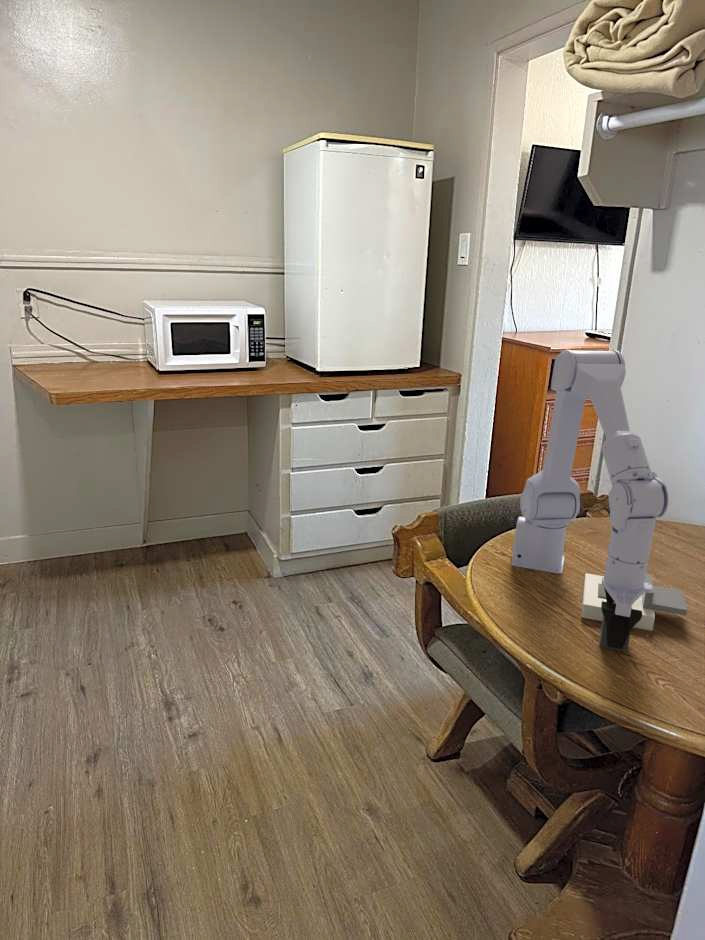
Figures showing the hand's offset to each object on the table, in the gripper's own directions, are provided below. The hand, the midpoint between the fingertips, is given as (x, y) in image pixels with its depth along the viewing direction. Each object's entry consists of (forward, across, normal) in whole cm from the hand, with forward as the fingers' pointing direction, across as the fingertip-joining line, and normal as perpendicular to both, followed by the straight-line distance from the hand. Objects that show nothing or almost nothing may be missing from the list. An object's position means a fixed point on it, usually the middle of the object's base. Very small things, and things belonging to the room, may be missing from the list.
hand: (614, 634), depth 105 cm
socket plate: (+1, +12, 0) cm, 12 cm away
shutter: (-1, +12, -7) cm, 14 cm away
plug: (+2, 0, 0) cm, 2 cm away
